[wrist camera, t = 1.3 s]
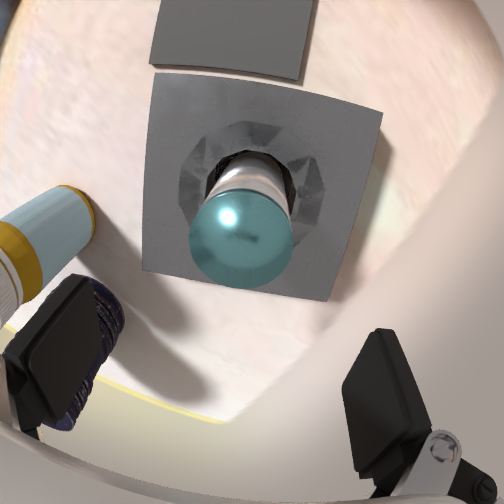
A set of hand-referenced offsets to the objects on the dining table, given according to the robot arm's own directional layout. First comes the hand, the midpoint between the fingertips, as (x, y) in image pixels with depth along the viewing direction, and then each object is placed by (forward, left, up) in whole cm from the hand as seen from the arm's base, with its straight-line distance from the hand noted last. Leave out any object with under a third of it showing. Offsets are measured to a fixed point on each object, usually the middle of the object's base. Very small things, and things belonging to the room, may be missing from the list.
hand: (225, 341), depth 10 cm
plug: (0, 0, -18) cm, 18 cm away
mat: (-15, -4, -18) cm, 24 cm away
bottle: (+6, -18, -18) cm, 26 cm away
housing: (0, 0, -18) cm, 18 cm away
